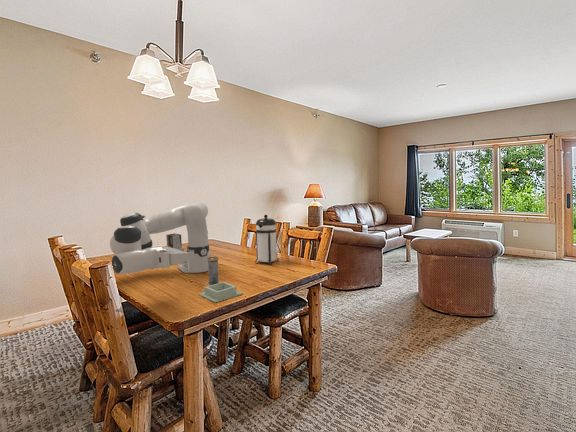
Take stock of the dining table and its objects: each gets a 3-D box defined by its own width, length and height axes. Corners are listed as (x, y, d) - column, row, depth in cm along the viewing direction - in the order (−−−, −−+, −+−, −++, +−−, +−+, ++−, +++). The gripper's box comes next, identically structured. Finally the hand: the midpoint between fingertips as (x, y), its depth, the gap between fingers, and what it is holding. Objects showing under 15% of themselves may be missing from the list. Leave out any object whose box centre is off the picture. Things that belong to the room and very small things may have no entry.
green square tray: (198, 294, 138) (198, 287, 138) (225, 287, 148) (224, 279, 148) (215, 303, 128) (215, 294, 128) (242, 294, 138) (242, 286, 138)
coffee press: (283, 264, 188) (282, 215, 185) (257, 266, 184) (256, 216, 181) (276, 257, 205) (275, 212, 202) (252, 259, 200) (250, 213, 197)
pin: (206, 286, 149) (205, 258, 148) (215, 283, 153) (214, 256, 152) (212, 288, 146) (210, 259, 144) (221, 286, 149) (220, 257, 148)
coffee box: (182, 258, 207) (181, 234, 205) (173, 260, 202) (172, 235, 201) (176, 256, 213) (175, 233, 212) (167, 257, 209) (165, 234, 207)
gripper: (148, 260, 136) (178, 254, 146) (167, 268, 122) (199, 262, 131) (147, 246, 136) (177, 241, 145) (166, 253, 121) (199, 247, 131)
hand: (188, 251), depth 138 cm, fingers open, 8 cm apart
